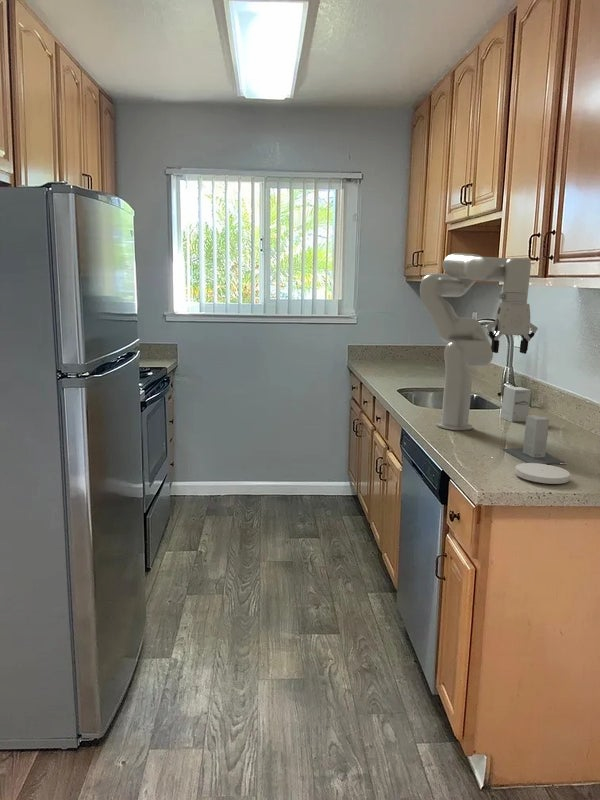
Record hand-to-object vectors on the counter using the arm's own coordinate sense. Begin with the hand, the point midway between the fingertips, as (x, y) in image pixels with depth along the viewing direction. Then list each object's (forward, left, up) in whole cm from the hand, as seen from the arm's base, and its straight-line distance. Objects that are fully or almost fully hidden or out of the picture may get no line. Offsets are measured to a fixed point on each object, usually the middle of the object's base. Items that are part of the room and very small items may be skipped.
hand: (508, 352), depth 204 cm
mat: (+14, +4, -30) cm, 34 cm away
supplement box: (-37, +25, -31) cm, 54 cm away
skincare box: (+14, +4, -30) cm, 33 cm away
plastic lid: (+35, -5, -31) cm, 47 cm away
